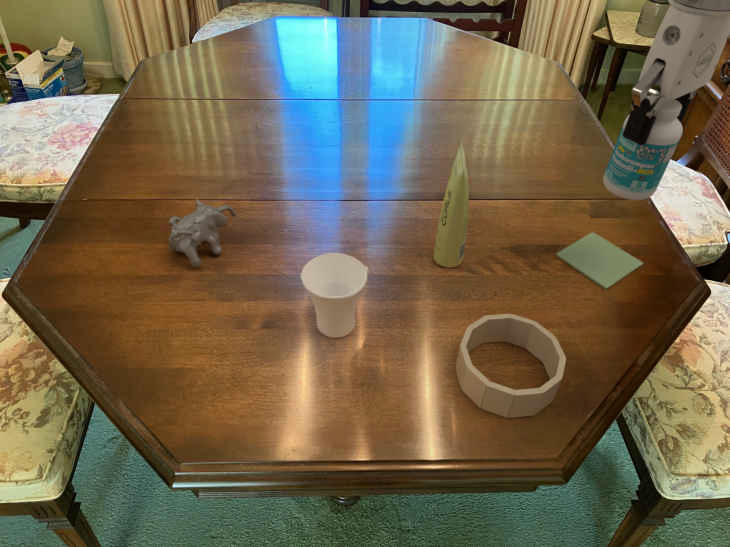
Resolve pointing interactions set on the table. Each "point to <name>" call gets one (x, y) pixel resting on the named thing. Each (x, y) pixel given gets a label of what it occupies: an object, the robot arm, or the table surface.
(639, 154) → the pill bottle
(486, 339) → the polygonal ring band
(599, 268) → the mat
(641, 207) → the table surface
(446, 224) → the tube
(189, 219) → the elephant statuette
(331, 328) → the cup
